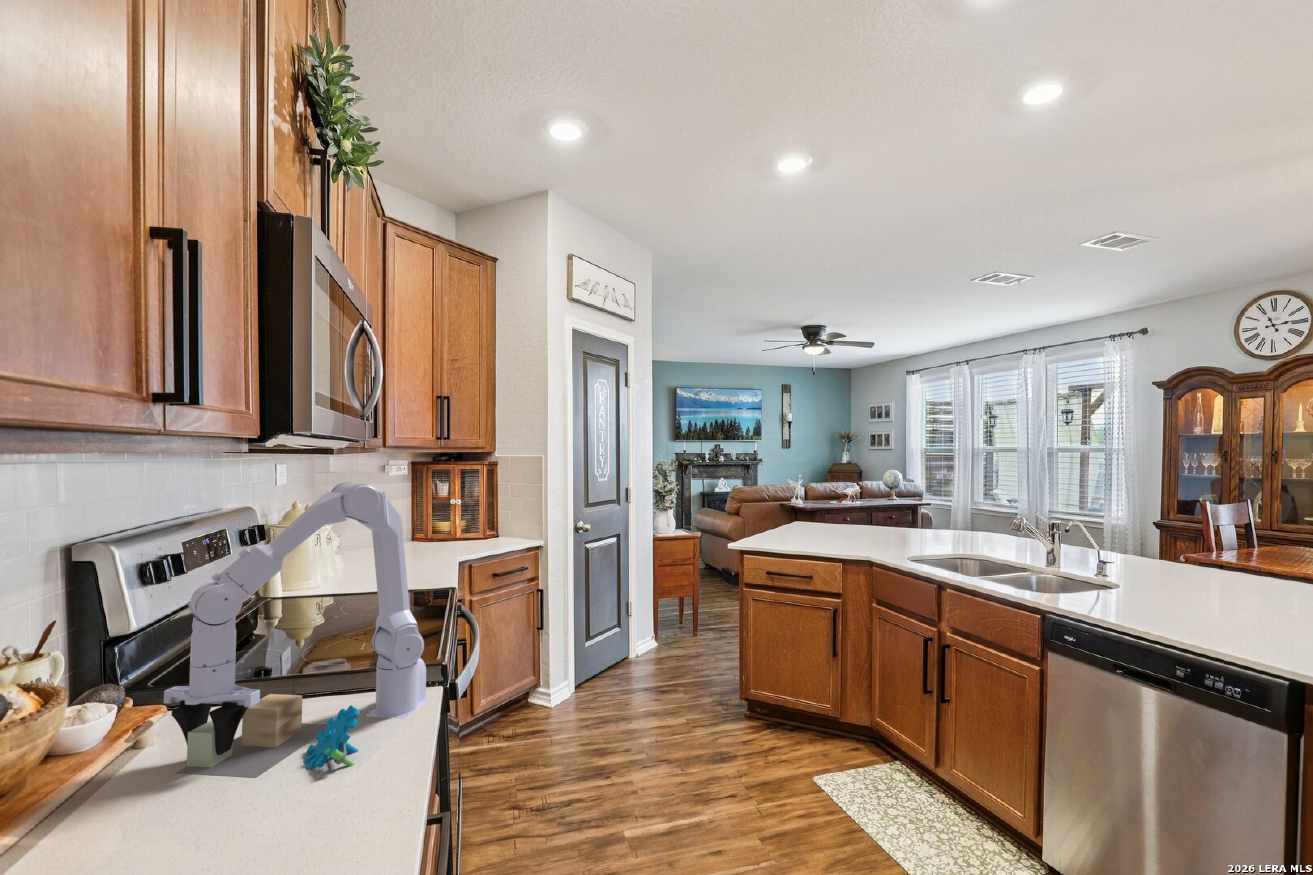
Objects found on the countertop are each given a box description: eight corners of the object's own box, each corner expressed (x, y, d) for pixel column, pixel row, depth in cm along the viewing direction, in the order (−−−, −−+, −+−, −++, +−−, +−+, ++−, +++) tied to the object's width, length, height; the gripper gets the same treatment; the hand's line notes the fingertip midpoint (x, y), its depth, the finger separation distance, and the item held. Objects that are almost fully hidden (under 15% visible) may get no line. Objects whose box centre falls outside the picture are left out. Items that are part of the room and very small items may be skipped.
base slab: (268, 729, 104) (269, 711, 104) (301, 731, 103) (301, 713, 103) (241, 745, 98) (242, 726, 98) (275, 747, 97) (276, 728, 97)
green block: (208, 753, 95) (210, 721, 95) (232, 754, 95) (233, 722, 95) (186, 765, 91) (187, 732, 91) (210, 767, 91) (212, 733, 91)
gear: (300, 742, 97) (351, 692, 99) (329, 761, 99) (378, 711, 102) (298, 784, 87) (355, 726, 90) (330, 803, 89) (384, 747, 92)
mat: (265, 724, 107) (265, 721, 107) (334, 728, 106) (334, 724, 106) (174, 776, 89) (174, 772, 89) (255, 781, 88) (256, 777, 88)
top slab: (269, 711, 104) (270, 693, 104) (301, 713, 103) (302, 695, 103) (242, 726, 98) (242, 707, 98) (276, 728, 97) (276, 709, 97)
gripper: (146, 668, 90) (142, 760, 90) (235, 671, 89) (232, 766, 88) (187, 653, 97) (184, 739, 97) (271, 656, 96) (268, 744, 95)
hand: (210, 750), depth 93 cm, fingers closed on green block, 4 cm apart
